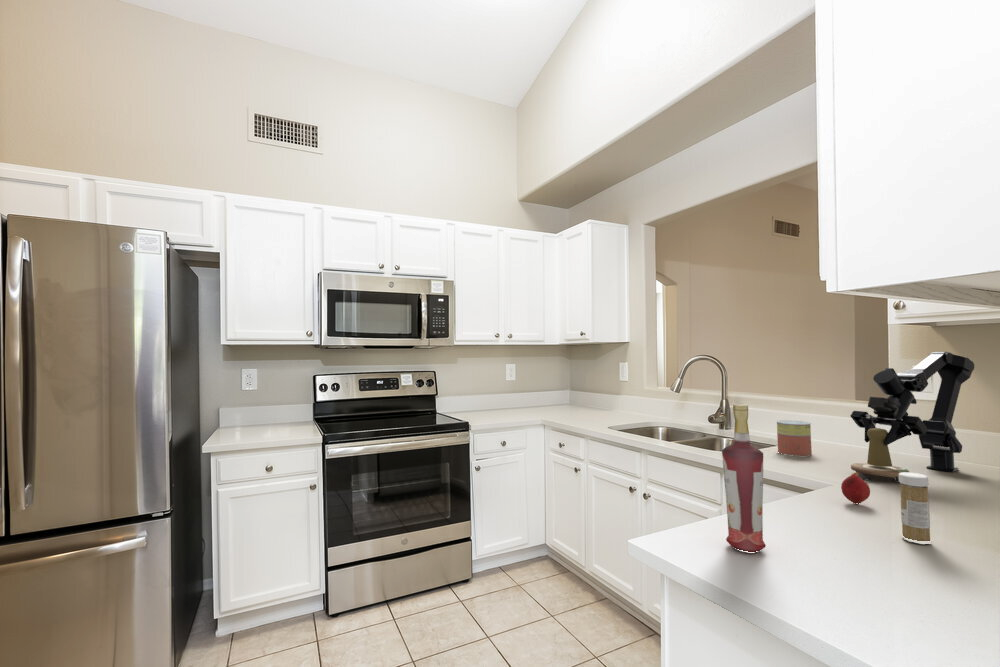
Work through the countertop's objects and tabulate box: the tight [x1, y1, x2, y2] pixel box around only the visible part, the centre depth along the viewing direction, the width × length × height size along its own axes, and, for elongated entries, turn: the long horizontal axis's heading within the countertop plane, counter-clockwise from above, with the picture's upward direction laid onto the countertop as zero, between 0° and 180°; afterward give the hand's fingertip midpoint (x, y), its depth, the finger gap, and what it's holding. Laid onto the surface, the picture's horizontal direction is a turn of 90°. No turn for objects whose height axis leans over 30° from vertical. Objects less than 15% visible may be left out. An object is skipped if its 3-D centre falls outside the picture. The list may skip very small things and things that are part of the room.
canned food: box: [776, 420, 813, 457], centre depth 181 cm, size 11×11×12 cm
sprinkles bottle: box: [898, 471, 931, 541], centre depth 95 cm, size 5×5×14 cm
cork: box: [866, 427, 893, 467], centre depth 144 cm, size 6×6×11 cm
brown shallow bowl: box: [850, 462, 910, 483], centre depth 144 cm, size 14×14×4 cm
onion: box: [840, 471, 871, 505], centre depth 119 cm, size 6×6×8 cm
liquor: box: [721, 404, 766, 552], centre depth 92 cm, size 7×7×28 cm
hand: (875, 442), depth 144 cm, fingers open, 5 cm apart
